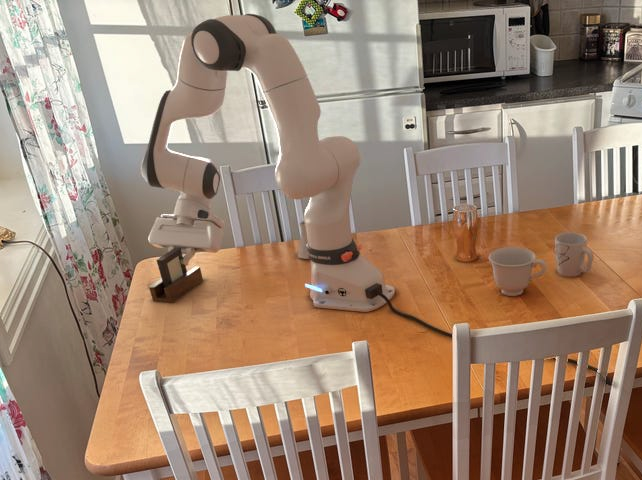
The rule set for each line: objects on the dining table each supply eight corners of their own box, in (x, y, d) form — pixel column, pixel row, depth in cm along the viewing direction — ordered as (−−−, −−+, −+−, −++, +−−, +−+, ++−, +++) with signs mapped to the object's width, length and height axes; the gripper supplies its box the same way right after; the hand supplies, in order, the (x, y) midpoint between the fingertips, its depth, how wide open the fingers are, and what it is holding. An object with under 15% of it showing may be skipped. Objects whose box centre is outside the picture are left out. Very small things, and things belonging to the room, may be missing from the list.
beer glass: (450, 260, 208) (448, 210, 200) (460, 251, 213) (458, 202, 205) (473, 264, 205) (471, 213, 197) (482, 254, 211) (481, 204, 203)
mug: (600, 274, 197) (602, 240, 192) (581, 284, 192) (583, 249, 187) (566, 263, 204) (568, 229, 199) (547, 273, 199) (548, 238, 194)
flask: (316, 260, 210) (311, 227, 205) (293, 259, 212) (287, 226, 206) (326, 250, 216) (321, 218, 211) (303, 249, 218) (298, 217, 212)
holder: (184, 278, 202) (180, 265, 200) (203, 280, 201) (199, 267, 199) (152, 300, 191) (148, 287, 189) (172, 302, 189) (168, 289, 187)
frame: (182, 278, 198) (174, 247, 194) (188, 279, 198) (180, 248, 193) (165, 291, 192) (156, 259, 187) (170, 291, 192) (162, 260, 187)
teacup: (538, 306, 182) (539, 269, 177) (482, 298, 187) (481, 262, 182) (551, 286, 192) (552, 250, 187) (498, 278, 197) (497, 244, 191)
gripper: (150, 208, 197) (137, 256, 194) (217, 214, 192) (204, 263, 189) (164, 218, 203) (152, 265, 200) (230, 224, 198) (217, 271, 195)
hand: (178, 264), depth 194 cm, fingers closed on frame, 2 cm apart
